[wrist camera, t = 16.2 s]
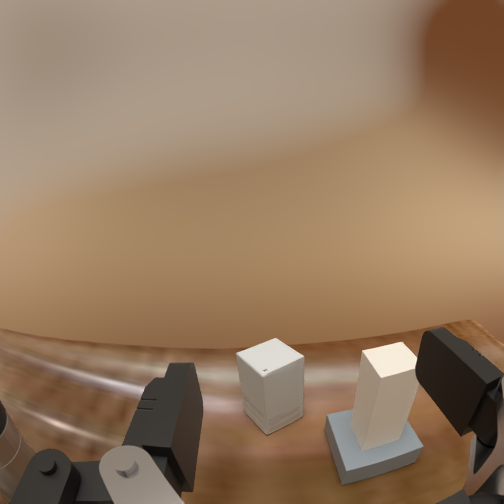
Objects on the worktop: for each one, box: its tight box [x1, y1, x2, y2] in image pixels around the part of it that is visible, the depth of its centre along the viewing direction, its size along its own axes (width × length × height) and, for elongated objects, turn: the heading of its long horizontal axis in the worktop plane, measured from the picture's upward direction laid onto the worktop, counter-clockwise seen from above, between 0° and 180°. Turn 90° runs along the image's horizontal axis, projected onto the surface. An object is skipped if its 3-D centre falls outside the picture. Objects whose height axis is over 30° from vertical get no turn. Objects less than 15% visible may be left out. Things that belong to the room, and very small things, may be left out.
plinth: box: [325, 409, 423, 485], centre depth 31 cm, size 11×11×4 cm
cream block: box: [350, 342, 419, 451], centre depth 29 cm, size 6×6×13 cm
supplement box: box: [236, 338, 304, 435], centre depth 41 cm, size 7×7×13 cm
